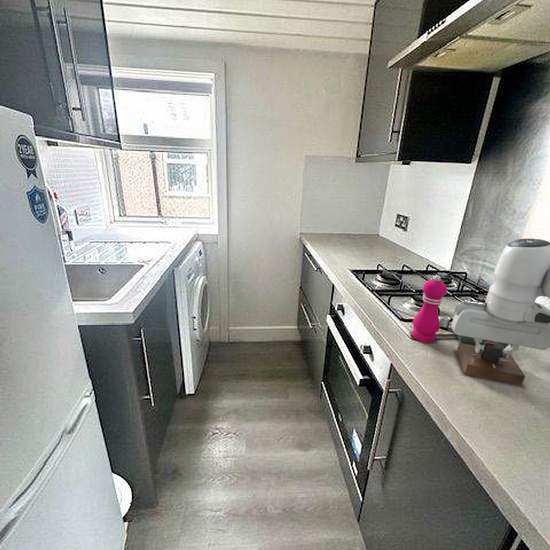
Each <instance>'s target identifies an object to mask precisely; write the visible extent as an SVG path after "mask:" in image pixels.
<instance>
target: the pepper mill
mask: <svg viewBox="0 0 550 550" xmlns="http://www.w3.org/2000/svg"><path fill="white" fill-rule="evenodd" d="M422 291H423V294H422V300H423V304H422V306H421V308H420V310H419V311H418V312H417V313H416V314H415V316H414V318H413V320H412V326H413V327H414V328H413V329H412V332H411V334H412V337H413V338H414V339H415V340H417V341H419V342H422V343H433V342H435V340H436V336H437V334H436V333H438V332H439V331H440V328H441V321H440V317H439V311H438V310H439V307H440V305H441V304H442V303H443V297H444V296H445V295H446V294H447V291H448V287H447V285H446V284H445V283H444V282H443V281H442V278H441V276H440V275H438V274H436V275H434V276H433V279H429V280H426V281H425V282H424V283H423V286H422Z"/></svg>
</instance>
